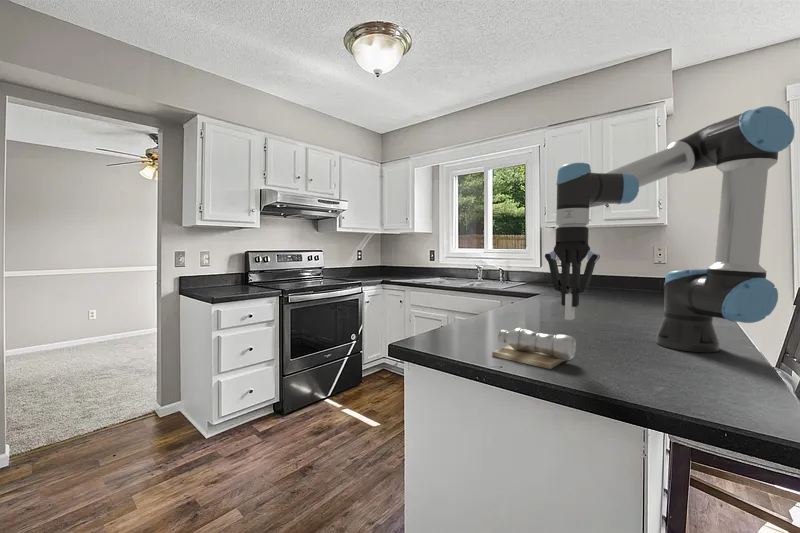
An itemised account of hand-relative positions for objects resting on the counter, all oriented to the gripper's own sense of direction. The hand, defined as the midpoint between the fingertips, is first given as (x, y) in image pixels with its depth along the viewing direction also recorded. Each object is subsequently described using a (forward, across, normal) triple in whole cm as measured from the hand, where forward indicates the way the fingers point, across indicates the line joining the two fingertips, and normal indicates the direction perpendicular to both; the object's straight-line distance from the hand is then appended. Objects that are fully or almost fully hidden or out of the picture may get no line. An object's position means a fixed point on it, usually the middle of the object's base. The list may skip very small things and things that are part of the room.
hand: (569, 318), depth 95 cm
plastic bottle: (+7, +2, -1) cm, 8 cm away
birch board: (+12, -10, 0) cm, 15 cm away
